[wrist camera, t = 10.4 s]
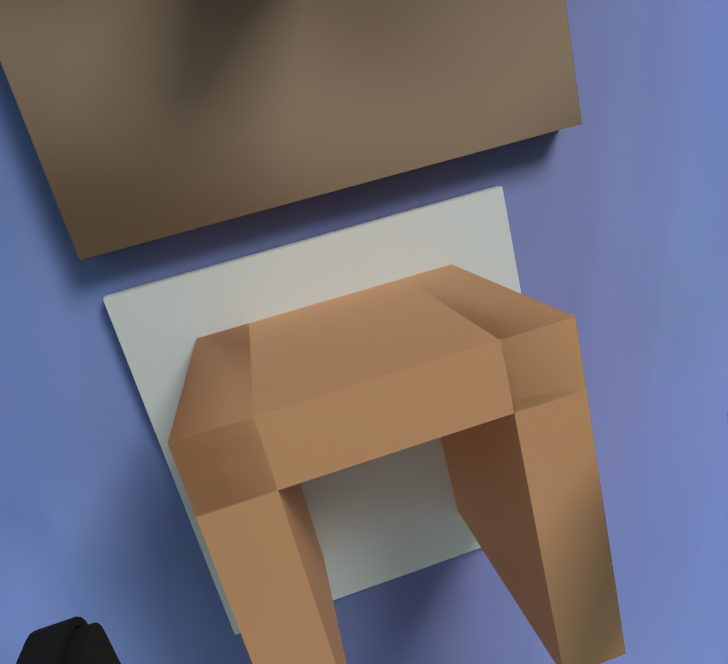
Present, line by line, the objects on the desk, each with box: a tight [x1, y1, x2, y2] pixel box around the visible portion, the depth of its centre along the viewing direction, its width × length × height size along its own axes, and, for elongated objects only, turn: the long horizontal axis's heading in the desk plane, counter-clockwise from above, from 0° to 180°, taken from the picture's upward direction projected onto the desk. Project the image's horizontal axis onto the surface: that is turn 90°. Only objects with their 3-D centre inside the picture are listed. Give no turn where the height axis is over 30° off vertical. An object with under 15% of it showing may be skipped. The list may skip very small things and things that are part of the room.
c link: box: [168, 264, 626, 664], centre depth 13 cm, size 7×7×6 cm
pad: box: [103, 186, 521, 635], centre depth 16 cm, size 10×10×1 cm
